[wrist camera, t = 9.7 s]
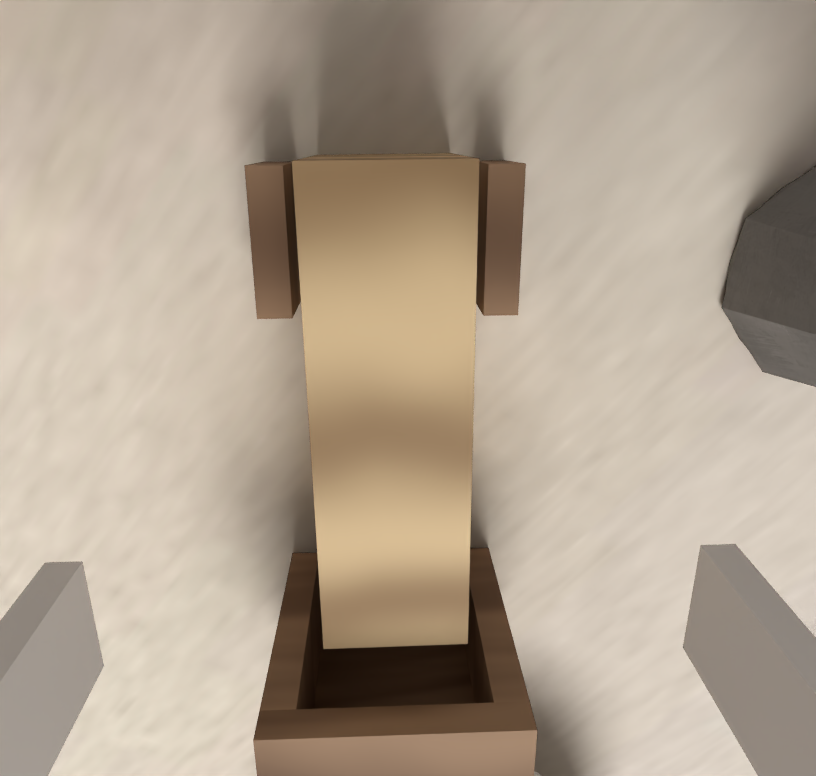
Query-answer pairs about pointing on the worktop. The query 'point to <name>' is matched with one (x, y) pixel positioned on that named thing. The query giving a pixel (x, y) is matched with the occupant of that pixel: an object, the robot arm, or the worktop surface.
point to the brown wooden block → (394, 695)
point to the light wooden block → (390, 389)
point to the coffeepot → (778, 283)
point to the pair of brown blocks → (280, 253)
